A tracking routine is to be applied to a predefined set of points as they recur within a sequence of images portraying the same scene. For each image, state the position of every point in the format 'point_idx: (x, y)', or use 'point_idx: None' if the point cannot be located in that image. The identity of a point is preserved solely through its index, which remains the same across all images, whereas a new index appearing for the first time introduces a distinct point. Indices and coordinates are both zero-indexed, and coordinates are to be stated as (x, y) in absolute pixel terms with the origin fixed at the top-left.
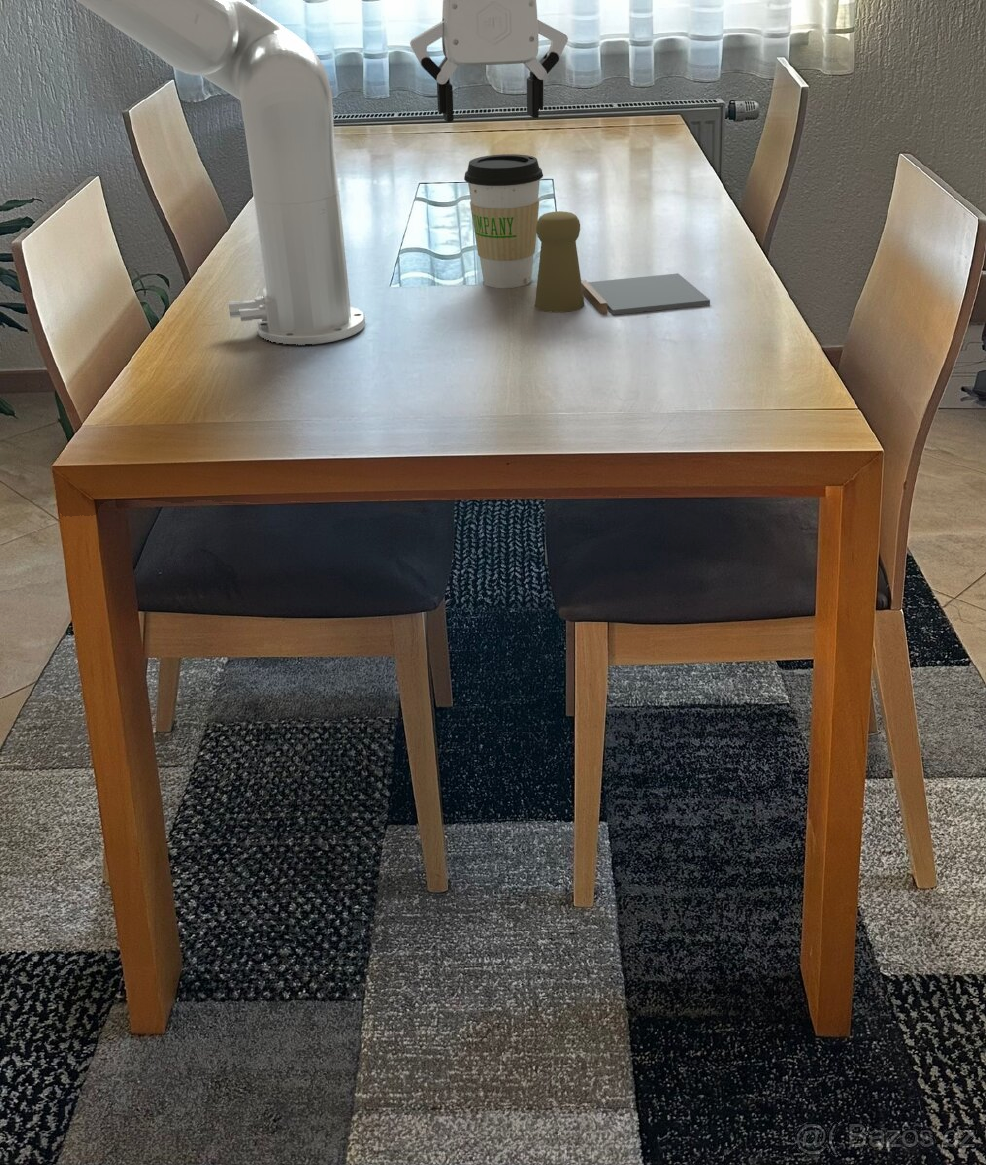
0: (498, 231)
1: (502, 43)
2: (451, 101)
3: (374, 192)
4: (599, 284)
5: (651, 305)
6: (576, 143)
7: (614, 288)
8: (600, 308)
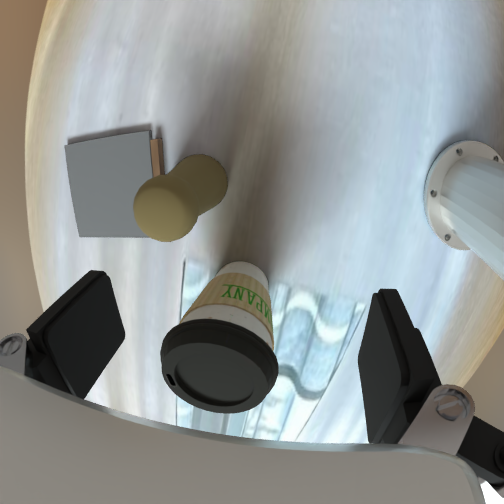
0: (245, 291)
1: (22, 493)
2: (394, 331)
3: None
4: None
5: (111, 138)
6: None
7: None
8: (159, 139)
